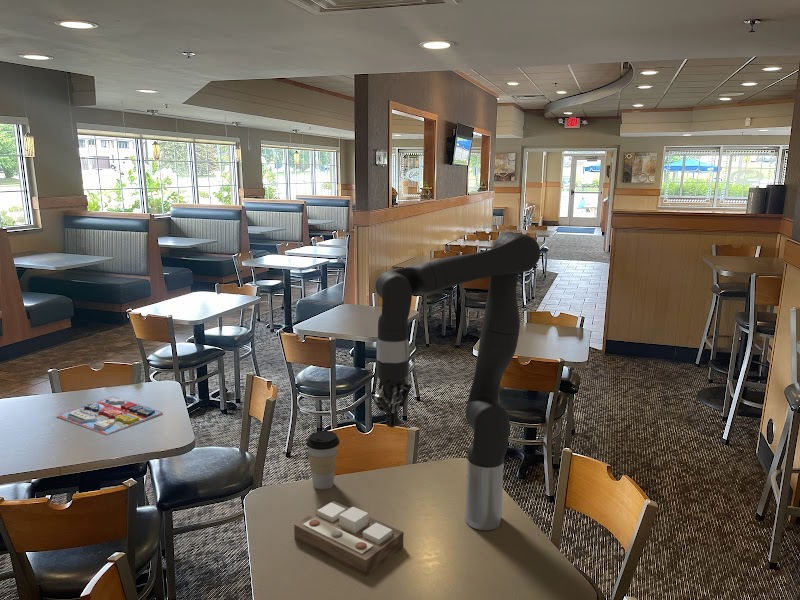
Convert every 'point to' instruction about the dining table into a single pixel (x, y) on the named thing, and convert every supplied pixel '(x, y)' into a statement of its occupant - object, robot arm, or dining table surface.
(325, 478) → the coffee cup
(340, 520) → the button
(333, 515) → the button
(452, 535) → the dining table surface
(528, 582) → the dining table surface
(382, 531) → the button
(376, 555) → the button panel
